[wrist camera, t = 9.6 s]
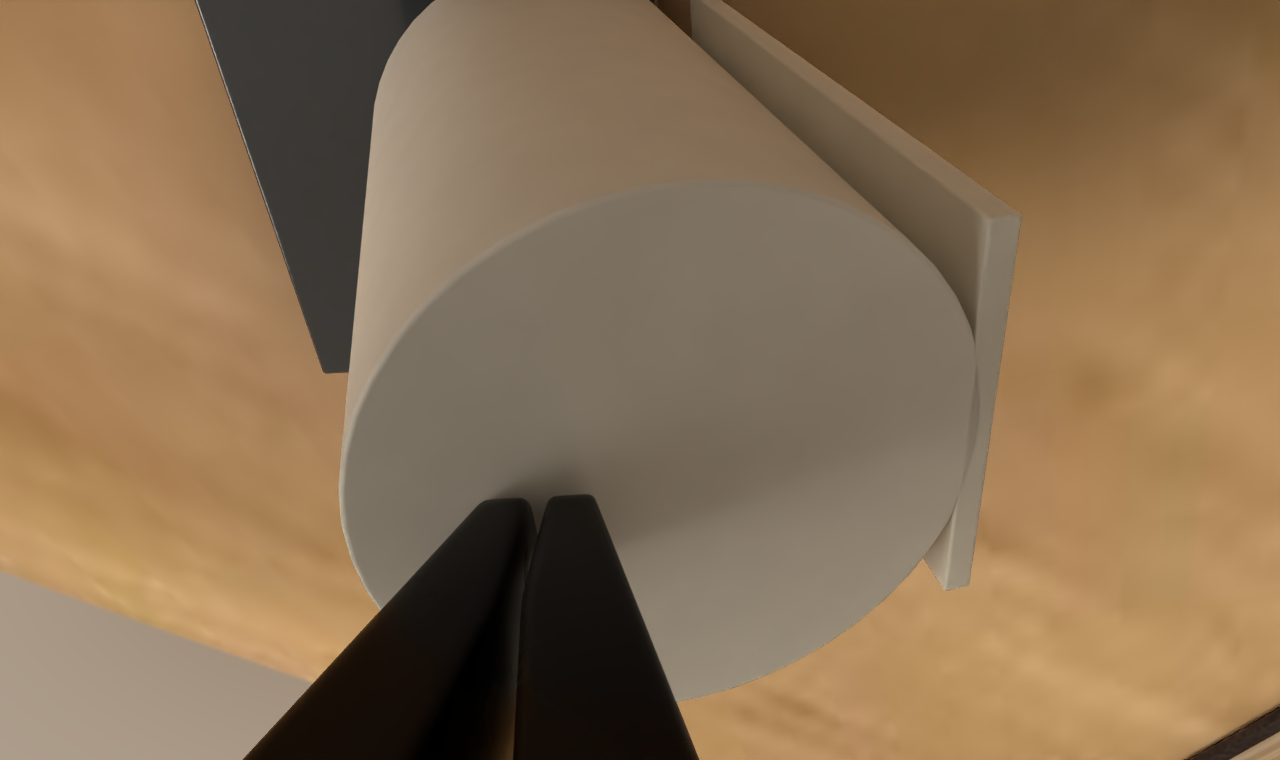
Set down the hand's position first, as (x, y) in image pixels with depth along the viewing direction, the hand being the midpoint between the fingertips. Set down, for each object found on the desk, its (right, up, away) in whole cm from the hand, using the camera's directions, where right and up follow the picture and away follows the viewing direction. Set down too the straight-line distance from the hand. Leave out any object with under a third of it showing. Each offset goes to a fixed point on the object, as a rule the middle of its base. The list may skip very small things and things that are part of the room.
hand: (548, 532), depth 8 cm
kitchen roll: (0, +3, +4) cm, 5 cm away
